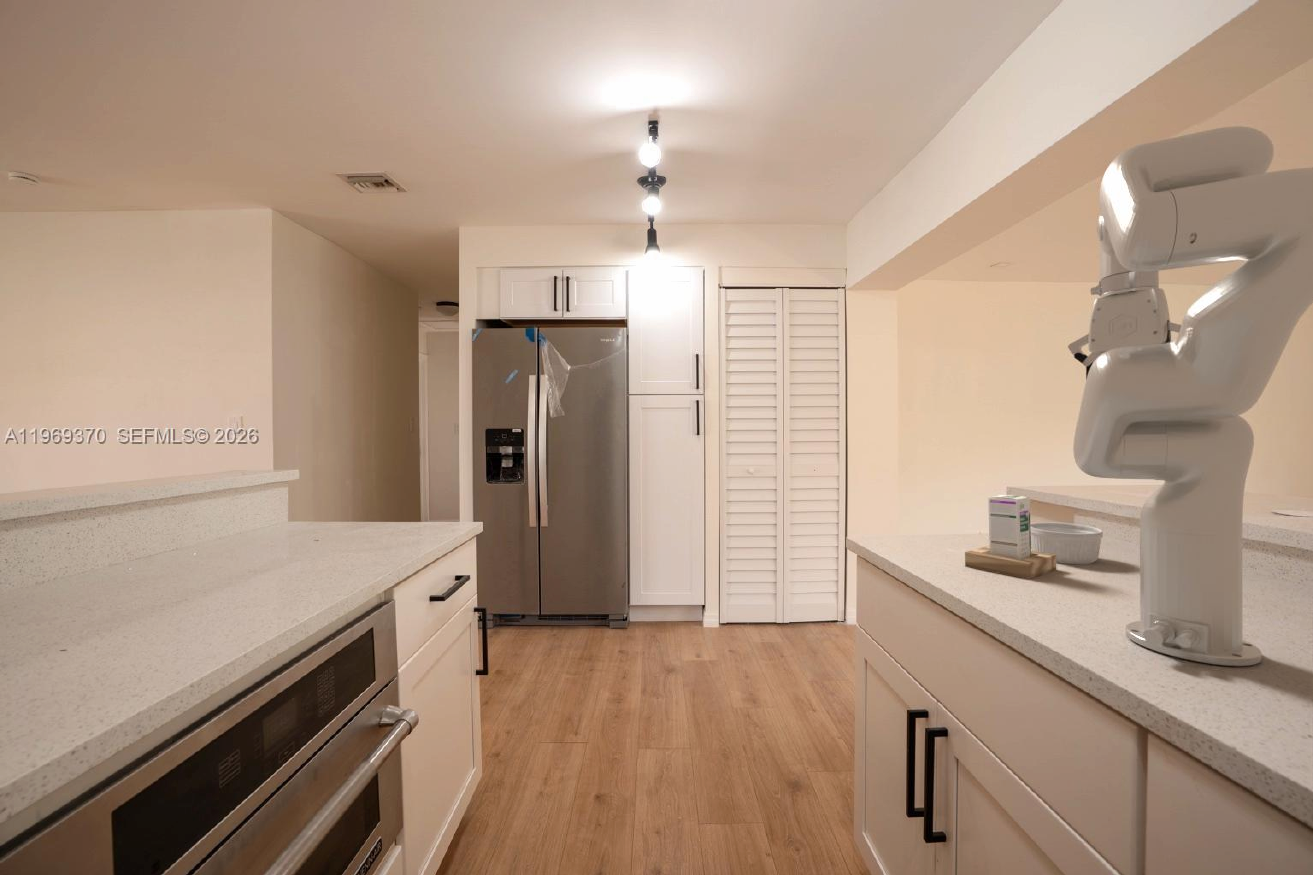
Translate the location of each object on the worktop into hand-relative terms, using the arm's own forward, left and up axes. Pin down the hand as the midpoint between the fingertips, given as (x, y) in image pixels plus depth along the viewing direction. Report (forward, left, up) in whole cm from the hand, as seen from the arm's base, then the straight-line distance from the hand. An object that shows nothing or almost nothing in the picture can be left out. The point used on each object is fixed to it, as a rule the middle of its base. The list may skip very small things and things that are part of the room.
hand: (1129, 385), depth 91 cm
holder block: (+2, +20, -36) cm, 41 cm away
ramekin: (+20, +17, -37) cm, 45 cm away
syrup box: (+2, +20, -36) cm, 41 cm away
